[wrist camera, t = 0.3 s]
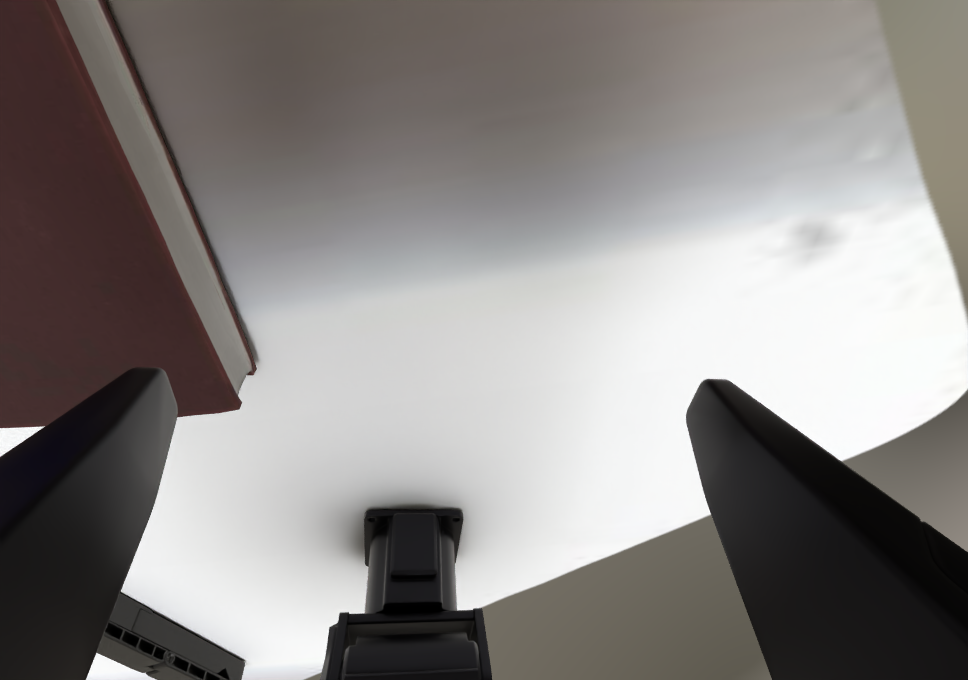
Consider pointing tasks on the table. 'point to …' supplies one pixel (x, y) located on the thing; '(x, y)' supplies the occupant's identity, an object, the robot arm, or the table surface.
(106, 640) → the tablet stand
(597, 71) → the table surface
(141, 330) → the book
